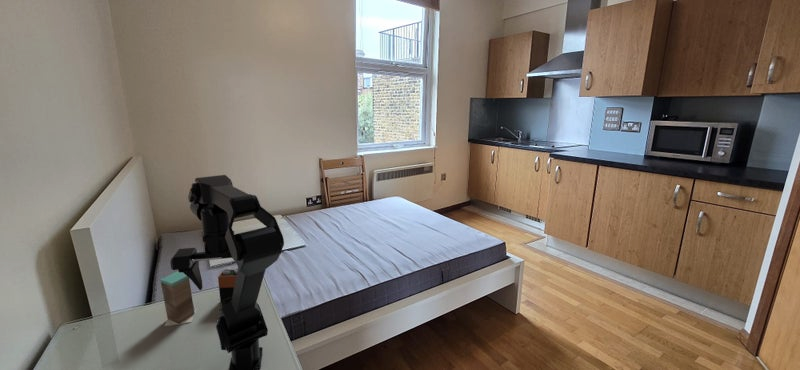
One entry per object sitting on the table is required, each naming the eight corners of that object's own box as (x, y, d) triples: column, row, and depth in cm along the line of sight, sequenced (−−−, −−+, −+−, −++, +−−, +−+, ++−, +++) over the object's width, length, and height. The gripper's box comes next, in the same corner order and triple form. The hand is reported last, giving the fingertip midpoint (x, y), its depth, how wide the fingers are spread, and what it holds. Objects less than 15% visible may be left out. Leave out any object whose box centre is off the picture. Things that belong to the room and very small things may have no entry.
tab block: (194, 313, 90) (188, 275, 86) (178, 323, 86) (171, 283, 82) (183, 309, 91) (177, 271, 88) (167, 319, 87) (160, 279, 84)
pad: (190, 322, 87) (190, 321, 87) (164, 326, 85) (164, 325, 85) (196, 308, 92) (196, 307, 92) (172, 312, 90) (171, 311, 90)
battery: (245, 304, 95) (242, 273, 93) (220, 305, 94) (217, 274, 92) (249, 295, 100) (247, 265, 97) (225, 296, 99) (222, 266, 96)
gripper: (262, 214, 87) (265, 266, 91) (181, 218, 81) (188, 274, 85) (258, 230, 77) (262, 288, 81) (165, 236, 71) (174, 299, 75)
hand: (222, 286), depth 81 cm, fingers open, 9 cm apart
